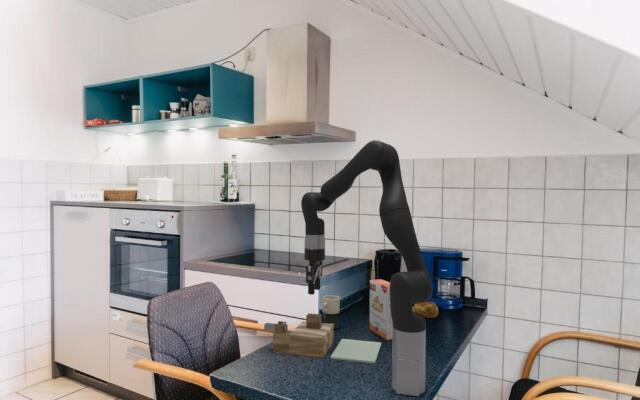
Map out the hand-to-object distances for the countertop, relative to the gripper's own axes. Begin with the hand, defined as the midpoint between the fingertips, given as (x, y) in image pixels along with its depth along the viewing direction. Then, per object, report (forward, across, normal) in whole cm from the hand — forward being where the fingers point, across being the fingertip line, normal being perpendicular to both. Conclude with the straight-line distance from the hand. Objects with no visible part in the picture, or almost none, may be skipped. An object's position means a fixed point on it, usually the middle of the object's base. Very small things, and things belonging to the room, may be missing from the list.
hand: (314, 291), depth 152 cm
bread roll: (+20, -54, +39) cm, 69 cm away
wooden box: (+20, +2, -3) cm, 20 cm away
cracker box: (+20, -21, +23) cm, 37 cm away
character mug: (+20, -23, +1) cm, 31 cm away
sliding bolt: (+13, +8, -12) cm, 19 cm away
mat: (+20, 0, +16) cm, 26 cm away
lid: (+15, +2, 0) cm, 15 cm away
